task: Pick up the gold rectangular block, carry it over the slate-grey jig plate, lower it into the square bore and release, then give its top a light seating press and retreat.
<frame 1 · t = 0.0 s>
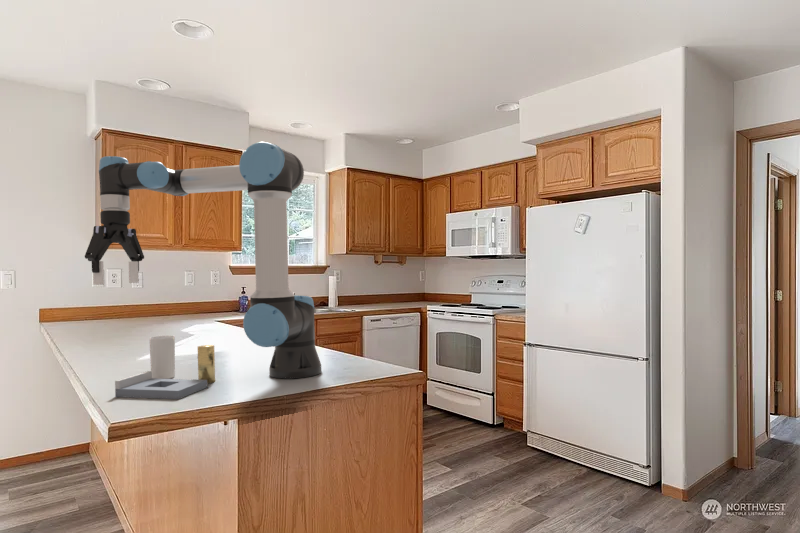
hand: (117, 283, 149), 28 cm above the table, fingers open, 13 cm apart
gold rectangular block: (206, 381, 143), on the table
jig: (162, 391, 132), on the table
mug: (165, 377, 152), on the table
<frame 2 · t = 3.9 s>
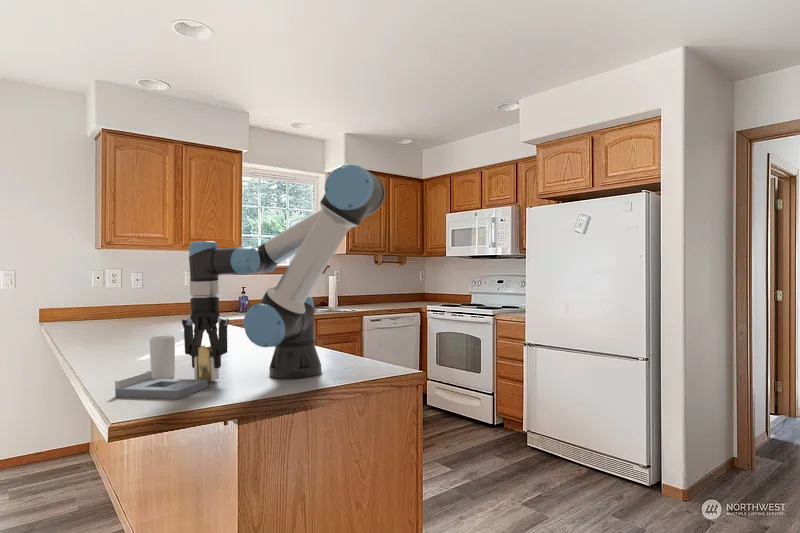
hand: (206, 379, 143), 1 cm above the table, fingers closed on gold rectangular block, 4 cm apart
gold rectangular block: (206, 381, 143), on the table, touching gripper
everything else where it was.
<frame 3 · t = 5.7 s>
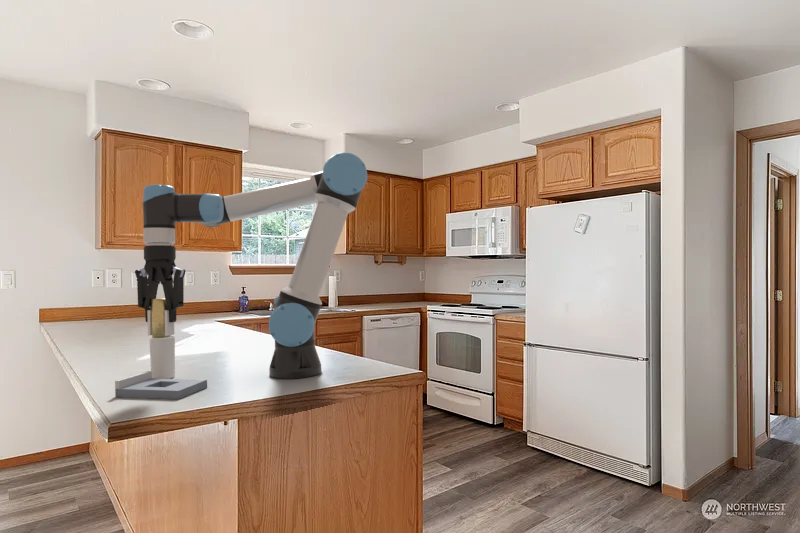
hand: (161, 334, 133), 15 cm above the table, fingers closed on gold rectangular block, 4 cm apart
gold rectangular block: (161, 337, 133), point 14 cm above the table, touching gripper
everything else where it was.
when the fingers open (3 cm above the table, at t = 7.5 s): gold rectangular block stays where it is, resting in jig.
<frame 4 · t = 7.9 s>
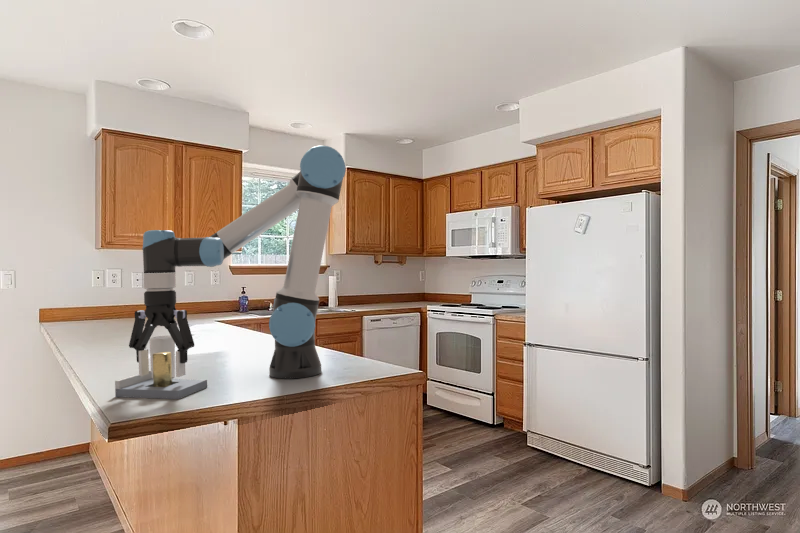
hand: (162, 375, 132), 4 cm above the table, fingers open, 10 cm apart
gold rectangular block: (162, 391, 132), resting in jig
everything else where it was.
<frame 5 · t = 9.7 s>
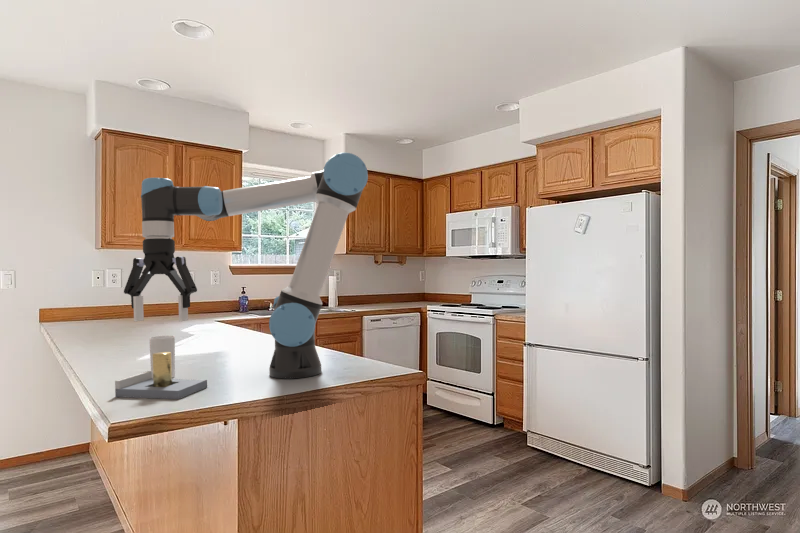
hand: (161, 320, 132), 18 cm above the table, fingers open, 12 cm apart
nothing on the table moved.
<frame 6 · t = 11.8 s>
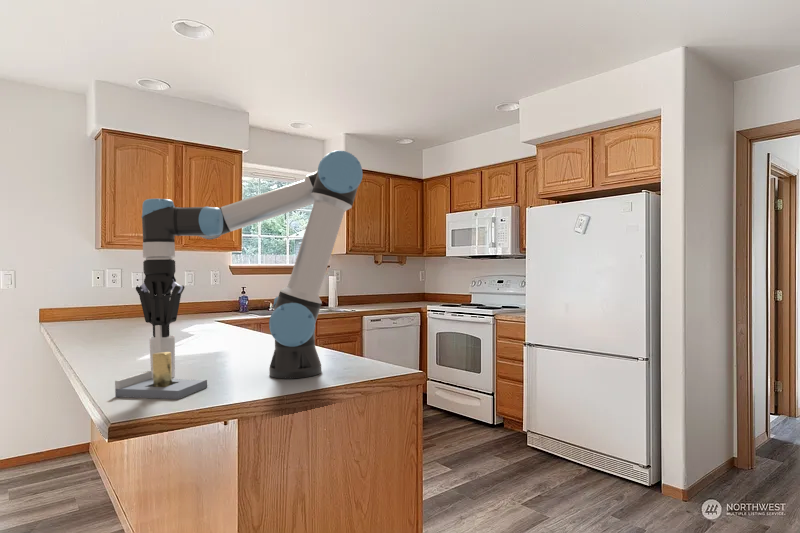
hand: (161, 349, 132), 11 cm above the table, fingers closed
nothing on the table moved.
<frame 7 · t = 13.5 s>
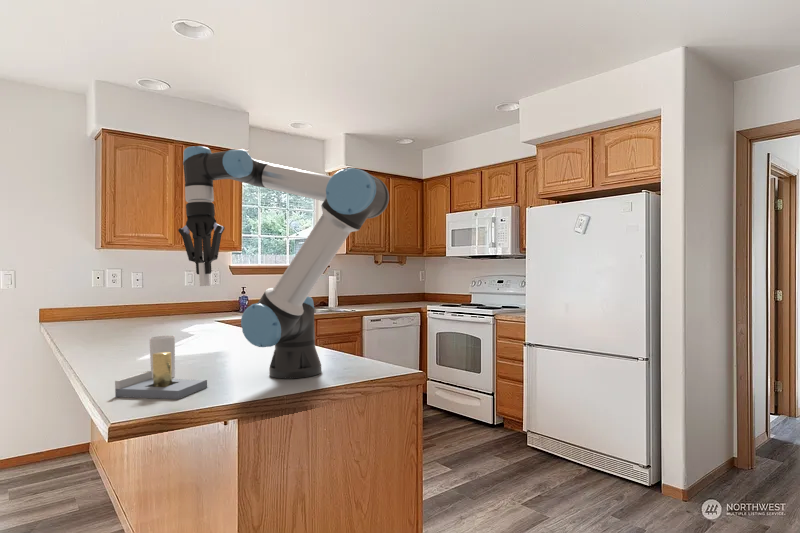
hand: (204, 285, 144), 27 cm above the table, fingers closed
nothing on the table moved.
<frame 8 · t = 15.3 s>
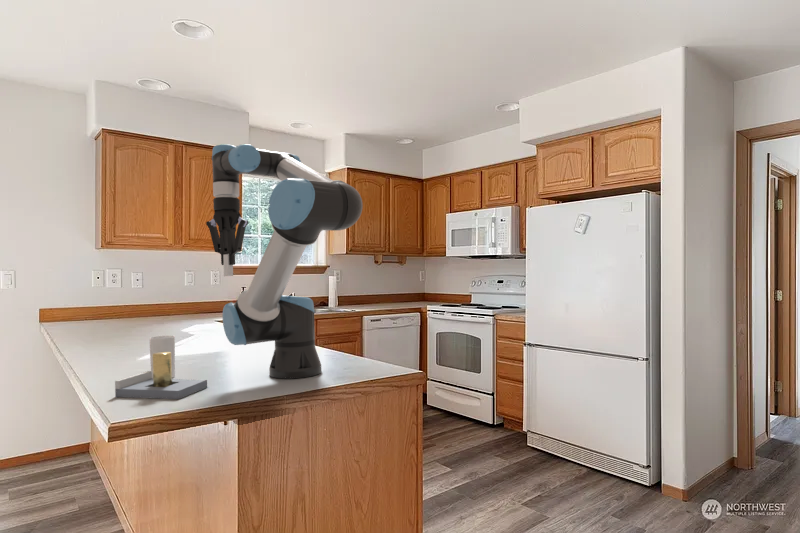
hand: (228, 276, 154), 29 cm above the table, fingers closed
nothing on the table moved.
at the end: gold rectangular block 0.1 cm off-centre on the jig, point 0.0 cm above the jig's base; gold rectangular block tilted 0°; the gripper is holding nothing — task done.
